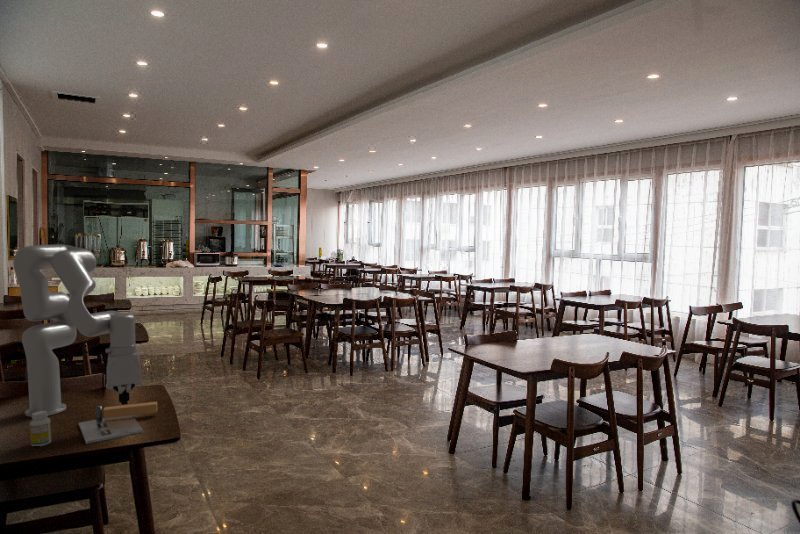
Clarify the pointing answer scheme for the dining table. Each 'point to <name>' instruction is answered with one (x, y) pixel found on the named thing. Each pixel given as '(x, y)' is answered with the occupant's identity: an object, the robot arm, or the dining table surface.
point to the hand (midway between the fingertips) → (124, 403)
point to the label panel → (108, 427)
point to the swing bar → (130, 410)
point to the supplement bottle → (40, 429)
